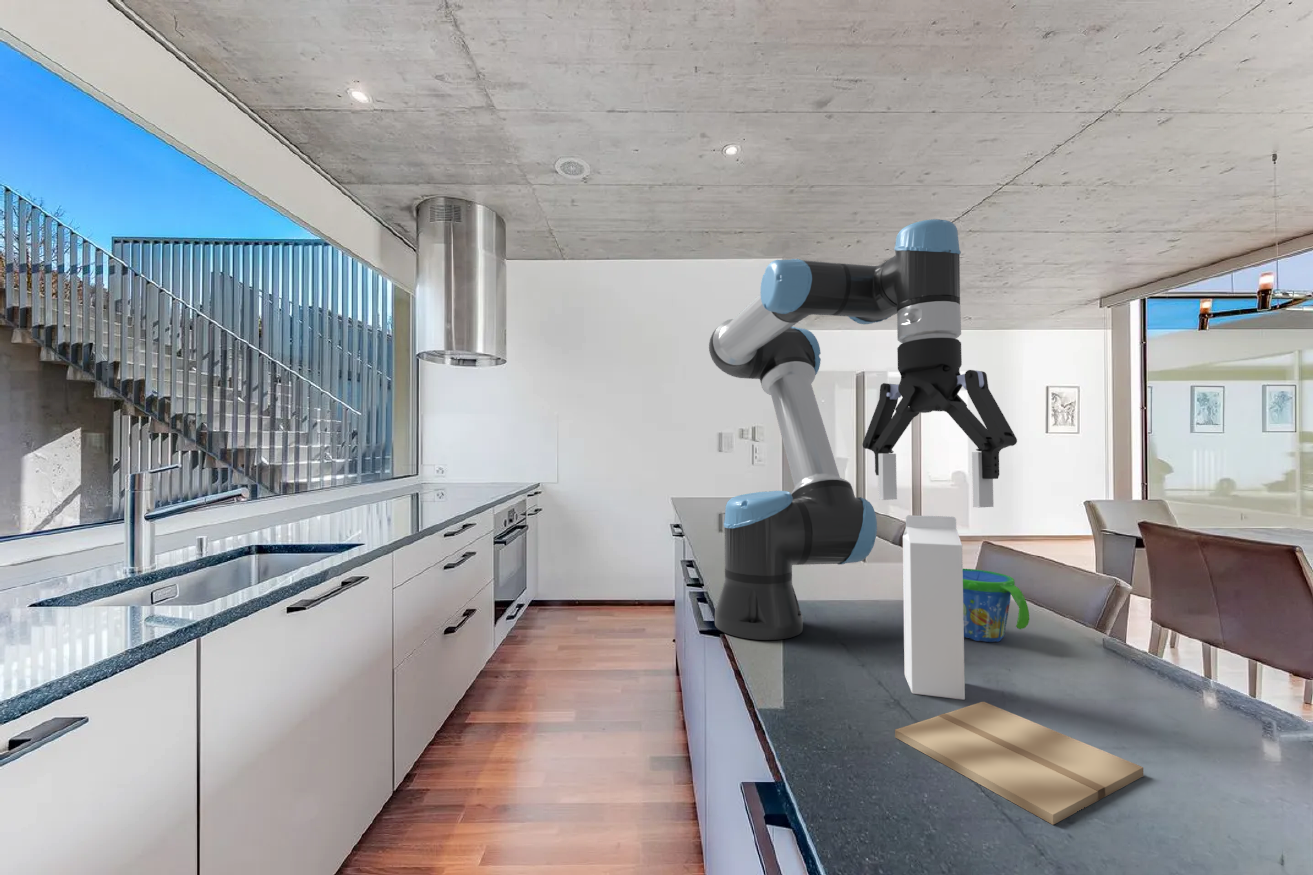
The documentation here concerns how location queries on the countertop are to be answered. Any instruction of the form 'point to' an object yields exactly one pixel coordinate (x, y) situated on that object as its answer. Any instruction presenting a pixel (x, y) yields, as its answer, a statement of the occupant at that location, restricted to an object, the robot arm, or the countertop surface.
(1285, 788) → the countertop surface
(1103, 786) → the flat cardboard box
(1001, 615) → the snack cup
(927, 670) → the milk
